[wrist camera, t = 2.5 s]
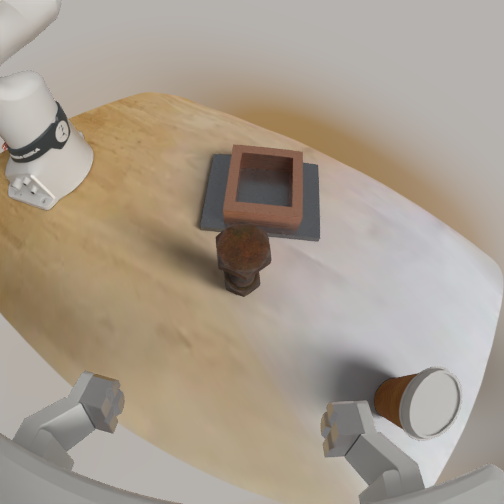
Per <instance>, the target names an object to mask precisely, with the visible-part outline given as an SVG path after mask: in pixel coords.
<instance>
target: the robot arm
mask: <svg viewBox="0 0 504 504" xmlns="http://www.w3.org/2000/svg"><path fill="white" fill-rule="evenodd" d="M60 7H61V0H0V65H1V64H2V63H4V62H5V61H6V60H7V59H9V58H10V57H11V56H12V55H13V54H15V53H16V52H18V51H19V50H20V49H21V48H23V47H24V46H25V45H27V44H28V43H30V42H31V41H32V40H33V39H35V38H36V37H37V36H38V35H39V34H40V33H41V32H42V31H43V30H45V29H46V28H47V27H48V26H49V25H50V24H51V23H52V22H53V21H55V20H56V18H57V16H58V14H59V11H60ZM0 136H1V137H2V138H3V140H4V141H5V143H4V144H3V146H2V148H3V147H4V145H5V144H6V145H5V148H4V151H5V150H6V148H8V151H9V154H10V157H9V160H8V163H7V166H6V170H5V175H6V178H7V179H8V180H9V182H10V184H9V189H8V195H9V197H10V198H12V199H14V200H17V201H20V202H23V203H26V204H29V205H32V206H35V207H38V208H41V209H44V210H49V209H51V208H52V207H53V206H54V205H55V204H56V203H57V201H58V200H59V199H61V198H62V197H64V196H65V195H67V194H69V193H70V192H71V191H73V190H74V189H75V188H76V187H77V186H78V185H79V184H80V183H81V182H82V181H83V180H84V178H85V177H86V175H87V174H88V172H89V170H90V168H91V166H92V162H93V150H92V148H91V147H90V145H89V144H87V143H86V141H85V140H84V135H83V134H82V133H81V132H80V131H77V130H76V128H75V127H74V126H73V124H72V123H71V122H70V120H69V119H68V118H67V117H66V115H65V113H64V111H63V109H62V107H61V106H60V104H59V103H58V102H57V101H55V100H54V98H53V96H52V95H51V93H50V91H49V89H48V87H47V85H46V83H45V81H44V79H43V77H42V76H41V75H40V74H39V73H37V72H34V71H22V72H18V73H15V74H12V75H9V76H5V77H0ZM119 388H120V383H119V380H116V379H112V378H109V377H105V376H102V375H98V374H95V373H91V372H88V371H84V372H83V373H82V374H81V375H80V377H79V379H78V380H77V382H76V384H75V386H74V387H73V389H72V391H71V393H70V394H69V396H68V398H63V399H61V400H59V401H57V402H55V403H53V404H51V405H50V406H48V407H46V408H44V409H42V410H40V411H38V412H37V413H35V414H33V415H31V416H29V417H27V418H25V419H24V421H23V423H22V424H21V426H20V428H19V429H18V431H17V433H16V435H15V437H14V438H13V440H10V439H9V438H7V437H6V436H4V435H2V434H1V433H0V504H181V503H175V502H170V501H165V500H161V499H156V498H152V497H148V496H144V495H140V494H137V493H133V492H129V491H126V490H123V489H119V488H116V487H113V486H110V485H107V484H104V483H101V482H99V481H96V480H93V479H90V478H88V477H85V476H82V475H80V474H78V473H75V472H73V471H71V470H72V467H73V464H74V461H73V459H72V458H71V457H70V456H69V455H68V453H67V451H68V450H69V449H71V448H72V447H73V446H75V445H76V444H77V443H79V442H80V441H81V440H83V439H84V438H85V437H86V436H88V435H89V434H90V433H92V432H93V431H94V430H95V429H99V430H102V431H106V432H109V433H114V431H115V428H116V426H117V423H118V419H117V417H116V416H118V415H119V414H121V413H122V410H123V408H124V401H125V400H124V394H123V392H122V391H121V390H120V389H119ZM321 435H322V436H323V437H324V438H325V441H324V442H323V449H324V456H325V457H341V456H345V458H346V459H347V461H348V462H349V463H350V464H351V465H352V467H353V468H354V469H355V470H356V471H357V472H358V474H359V475H360V476H361V477H362V478H363V479H364V480H365V482H366V483H367V484H368V485H369V486H368V487H367V488H366V489H365V490H364V491H363V492H362V493H361V494H360V495H359V501H360V504H504V471H503V470H501V469H500V468H498V467H496V466H494V465H492V464H488V465H484V466H482V467H480V468H478V469H475V470H473V471H471V472H469V473H466V474H464V475H462V476H459V477H457V478H454V479H451V480H449V481H446V482H443V483H441V484H438V485H435V486H432V487H429V488H426V489H425V487H424V484H423V480H422V477H421V474H420V470H419V467H418V464H417V463H416V462H415V461H414V460H413V459H411V458H410V457H409V456H408V455H407V454H405V453H404V452H403V451H402V450H401V449H399V448H398V447H397V446H396V445H395V444H394V443H392V442H391V441H390V440H389V439H388V438H387V437H385V436H384V435H383V434H382V433H381V432H377V430H376V427H375V424H374V420H373V417H372V414H371V410H370V407H369V404H368V402H367V401H366V400H363V401H343V402H330V403H329V404H328V405H327V412H326V413H324V414H323V417H322V419H321Z"/></svg>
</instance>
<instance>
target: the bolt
mask: <svg viewBox="0 0 504 504" xmlns="http://www.w3.org/2000/svg"><path fill="white" fill-rule="evenodd" d="M216 248H217V259H218V267H219V269H221V270H223V271H224V274H225V284H226V289H227V290H229V291H230V292H233V293H235V294H236V295H240V296H243V297H245V296H246V295H248V294H249V293H251V292H252V291H254V290H255V289H256V288H257V287H259V286H260V277H259V271H260V270H262V269H263V268H265V267H266V266H267V265H269V264H270V263H271V251H270V244H269V238H268V234H267V232H266V231H265V230H263V229H261V228H259V227H257V226H255V225H253V224H250V223H246V222H241V221H239V222H237V223H234V224H233V225H231V226H229V227H228V228H226V229H225V230H223V231H222V232H221V233H220V234H219V235H217V236H216Z"/></svg>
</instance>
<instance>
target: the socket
mask: <svg viewBox="0 0 504 504" xmlns="http://www.w3.org/2000/svg"><path fill="white" fill-rule="evenodd" d="M239 221H241V222H246V223H250V224H253V225H255V226H257V227H259V228H261V229H263V230H265V231H266V232H267V234H268V236H269V237H279V238H289V239H298V240H308V241H319V239H320V209H319V177H318V165H315V164H308V163H303V152H299V151H292V150H283V149H275V148H265V147H255V146H244V145H233V150H232V155H220V154H214V157H213V162H212V166H211V171H210V176H209V181H208V187H207V192H206V197H205V203H204V208H203V214H202V219H201V225H200V228H201V230H205V231H216V232H222V231H223V230H225V229H226V228H228V227H229V226H231V225H233V224H234V223H237V222H239Z"/></svg>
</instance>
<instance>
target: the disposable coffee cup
mask: <svg viewBox="0 0 504 504" xmlns="http://www.w3.org/2000/svg"><path fill="white" fill-rule="evenodd" d="M461 404H462V388H461V384H460V382H459V380H458V378H457V377H456V376H455V375H454V374H453V373H452V372H450V371H449V370H447V369H446V368H443V367H430V368H428V369H425V370H423V371H422V372H420V373H417V374H412V375H407V376H403V377H398V378H393V379H389V380H387V381H385V382H384V383H383V384H382V385H380V387H379V388H378V390H377V392H376V394H375V399H374V405H375V409H376V411H377V412H378V413H379V414H380V415H381V416H383V417H384V418H386V419H387V420H389V421H391V422H392V423H394V424H395V425H397V426H398V427H400V428H402V429H403V430H404V431H405V432H406V433H407V435H408V436H409V437H411V438H413V439H415V440H419V441H425V440H430V439H432V438H435V437H438V436H440V435H442V434H443V433H445V432H446V431H447V430H448V429H449V428H450V427H451V426H452V424H453V423H454V421H455V420H456V418H457V416H458V413H459V411H460V408H461Z"/></svg>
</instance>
